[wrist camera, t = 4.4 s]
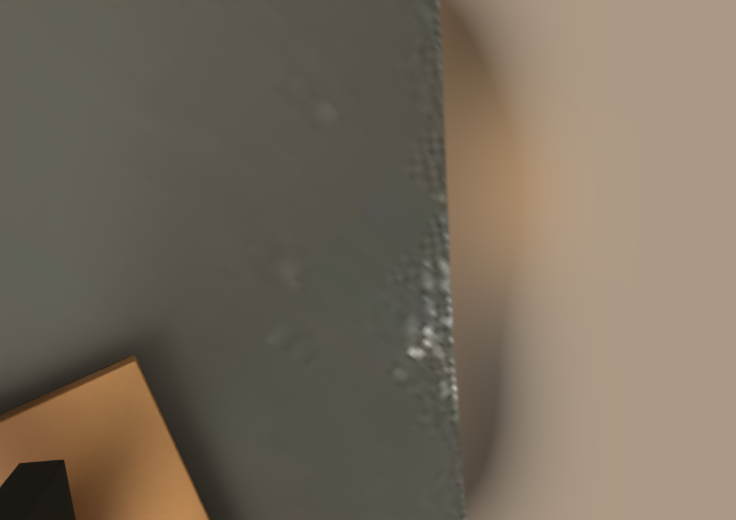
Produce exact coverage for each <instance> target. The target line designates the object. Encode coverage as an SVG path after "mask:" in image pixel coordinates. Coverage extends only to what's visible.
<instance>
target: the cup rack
mask: <svg viewBox="0 0 736 520" xmlns="http://www.w3.org/2000/svg"><path fill="white" fill-rule="evenodd" d="M63 459H64V462H65V467H66V472H67V477H68V482H69V487H70V492H71V498H72V503H73V508H74V513H75V518H76V520H211V519H210V517H209V515H208V513H207V510H206V508H205V506H204V504H203V502H202V500H201V497H200V495H199V493H198V491H197V489H196V487H195V484H194V482H193V480H192V478H191V476H190V474H189V471H188V469H187V467H186V465H185V463H184V461H183V458H182V456H181V454H180V452H179V450H178V448H177V445H176V443H175V441H174V439H173V437H172V435H171V432H170V430H169V428H168V426H167V424H166V422H165V419H164V417H163V415H162V413H161V411H160V409H159V406H158V404H157V402H156V400H155V398H154V395H153V393H152V391H151V389H150V387H149V385H148V382H147V380H146V378H145V376H144V374H143V372H142V369H141V367H140V365H139V363H138V361H137V359H136V357H135V356H130V357H128V358H126V359H124V360H122V361H119V362H117V363H115V364H113V365H110V366H108V367H106V368H104V369H101V370H99V371H97V372H95V373H93V374H90V375H88V376H86V377H84V378H81V379H79V380H77V381H75V382H72V383H70V384H68V385H66V386H63V387H61V388H59V389H57V390H55V391H52V392H50V393H48V394H46V395H43V396H41V397H39V398H37V399H34V400H32V401H30V402H28V403H26V404H23V405H21V406H19V407H17V408H14V409H12V410H10V411H8V412H5V413H3V414H1V415H0V487H1V485H2V484H3V483H4V482H5V480H6V479H7V478H8V477H9V475H10V474H11V473H12V472H13V470H14V469H15V468H16V467H17V465H18V464H19V463H27V462H39V461H51V460H63Z"/></svg>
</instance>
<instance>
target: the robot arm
mask: <svg viewBox="0 0 736 520" xmlns="http://www.w3.org/2000/svg"><path fill="white" fill-rule="evenodd" d="M0 520H76V518H75V513H74V508H73V503H72V498H71V492H70V487H69V482H68V477H67V472H66V467H65V462H64V459H63V460H51V461H39V462H27V463H19V464H18V465H17V467H16V468H15V469H14V470H13V472H12V473H11V474H10V475H9V477H8V478H7V479H6V480H5V482H4V483H3V484H2V485H1V487H0Z"/></svg>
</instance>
